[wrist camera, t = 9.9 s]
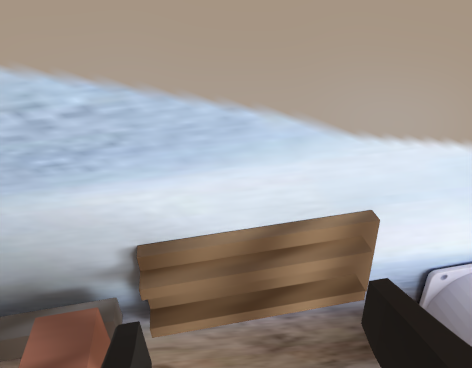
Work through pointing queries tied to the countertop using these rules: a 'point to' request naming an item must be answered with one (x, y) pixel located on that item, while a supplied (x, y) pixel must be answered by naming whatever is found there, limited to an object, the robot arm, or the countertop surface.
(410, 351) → the robot arm
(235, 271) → the track board
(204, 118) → the countertop surface
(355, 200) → the countertop surface
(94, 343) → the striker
